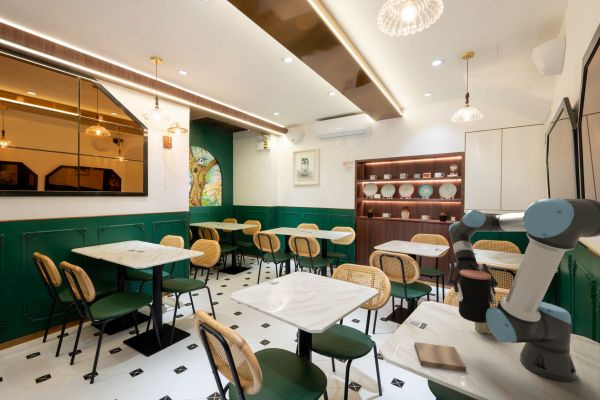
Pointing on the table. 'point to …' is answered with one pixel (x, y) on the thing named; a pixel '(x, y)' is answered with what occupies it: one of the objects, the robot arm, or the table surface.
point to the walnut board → (439, 356)
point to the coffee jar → (475, 295)
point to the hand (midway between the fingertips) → (477, 301)
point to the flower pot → (482, 327)
